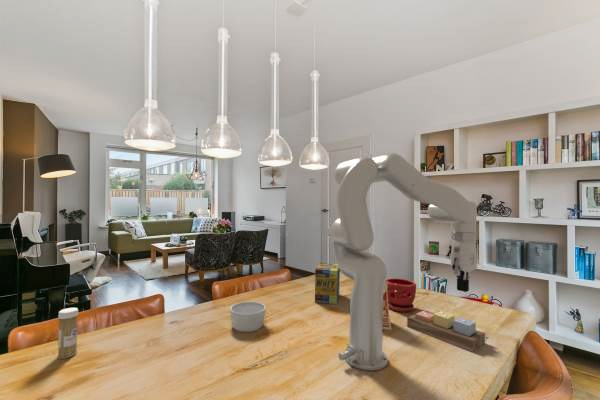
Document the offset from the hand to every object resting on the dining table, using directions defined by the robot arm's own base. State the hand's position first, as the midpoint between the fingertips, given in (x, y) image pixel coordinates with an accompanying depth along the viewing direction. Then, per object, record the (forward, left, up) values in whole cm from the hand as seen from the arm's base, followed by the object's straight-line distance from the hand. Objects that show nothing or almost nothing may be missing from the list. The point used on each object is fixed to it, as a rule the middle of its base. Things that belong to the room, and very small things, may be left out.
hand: (462, 290), depth 99 cm
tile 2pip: (0, +6, -14) cm, 15 cm away
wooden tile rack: (0, +6, -17) cm, 18 cm away
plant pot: (+10, +31, -18) cm, 37 cm away
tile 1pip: (0, -1, -14) cm, 14 cm away
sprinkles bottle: (-107, +65, -18) cm, 126 cm away
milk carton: (-12, +26, -18) cm, 33 cm away
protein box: (-8, +59, -18) cm, 62 cm away
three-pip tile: (0, +13, -16) cm, 21 cm away
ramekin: (-54, +53, -18) cm, 78 cm away
